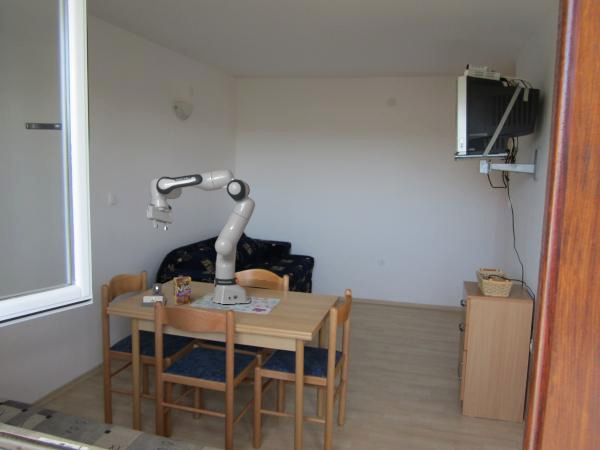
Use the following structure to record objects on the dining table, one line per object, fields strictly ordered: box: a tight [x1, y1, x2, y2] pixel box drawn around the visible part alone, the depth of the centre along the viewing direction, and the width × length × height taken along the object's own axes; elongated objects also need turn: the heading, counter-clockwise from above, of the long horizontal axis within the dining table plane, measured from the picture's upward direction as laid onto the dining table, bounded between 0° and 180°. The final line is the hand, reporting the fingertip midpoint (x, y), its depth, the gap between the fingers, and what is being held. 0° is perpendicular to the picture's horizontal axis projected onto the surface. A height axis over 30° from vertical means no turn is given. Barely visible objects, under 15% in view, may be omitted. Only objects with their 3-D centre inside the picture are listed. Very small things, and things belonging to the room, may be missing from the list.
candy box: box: [172, 275, 192, 306], centre depth 259 cm, size 9×4×15 cm, turn 123°
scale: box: [141, 294, 167, 308], centre depth 257 cm, size 12×12×6 cm
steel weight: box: [152, 282, 163, 296], centre depth 270 cm, size 5×5×8 cm
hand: (161, 229), depth 264 cm, fingers open, 8 cm apart
